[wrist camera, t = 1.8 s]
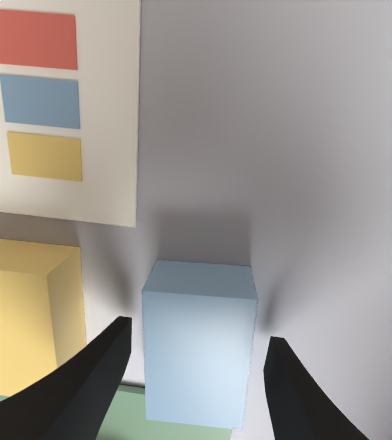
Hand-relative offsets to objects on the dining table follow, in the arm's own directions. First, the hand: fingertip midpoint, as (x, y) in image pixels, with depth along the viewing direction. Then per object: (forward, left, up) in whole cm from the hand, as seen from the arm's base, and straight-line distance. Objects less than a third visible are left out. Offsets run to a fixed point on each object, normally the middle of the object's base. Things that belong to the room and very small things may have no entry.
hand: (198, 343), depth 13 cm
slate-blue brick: (0, 0, -2) cm, 2 cm away
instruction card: (+7, -10, -1) cm, 13 cm away
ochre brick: (+8, 0, -2) cm, 9 cm away
